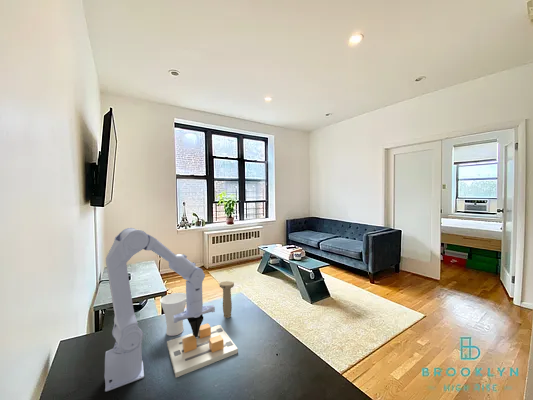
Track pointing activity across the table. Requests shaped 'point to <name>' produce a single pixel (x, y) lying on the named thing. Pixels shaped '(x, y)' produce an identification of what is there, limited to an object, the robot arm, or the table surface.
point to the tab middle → (189, 343)
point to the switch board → (199, 352)
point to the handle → (227, 298)
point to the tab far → (204, 330)
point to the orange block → (216, 343)
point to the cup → (173, 312)
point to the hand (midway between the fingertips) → (195, 335)
